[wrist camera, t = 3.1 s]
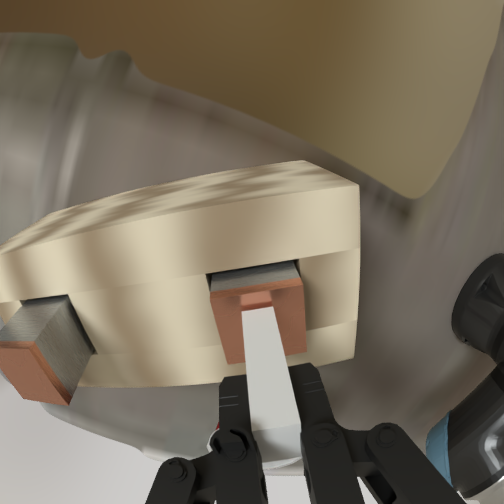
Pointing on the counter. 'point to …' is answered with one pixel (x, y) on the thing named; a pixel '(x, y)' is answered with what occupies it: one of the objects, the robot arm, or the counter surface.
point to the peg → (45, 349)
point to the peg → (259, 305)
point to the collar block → (191, 268)
